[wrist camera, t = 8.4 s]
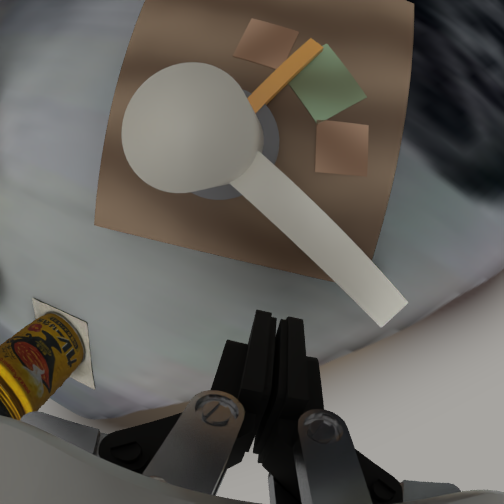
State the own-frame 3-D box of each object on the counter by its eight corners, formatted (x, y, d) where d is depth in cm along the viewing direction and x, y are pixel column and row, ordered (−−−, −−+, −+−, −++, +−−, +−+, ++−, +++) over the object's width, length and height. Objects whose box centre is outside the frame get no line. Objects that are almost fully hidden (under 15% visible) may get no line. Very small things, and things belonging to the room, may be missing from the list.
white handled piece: (147, 151, 16) (79, 146, 10) (273, 17, 13) (265, -49, 7) (343, 329, 18) (364, 399, 11) (463, 205, 15) (532, 224, 8)
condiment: (87, 321, 22) (-2, 401, 11) (95, 388, 25) (34, 466, 13) (33, 296, 23) (-52, 352, 11) (45, 362, 25) (-19, 423, 13)
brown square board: (166, -23, 14) (159, -33, 12) (407, 12, 13) (414, 3, 11) (105, 221, 19) (93, 225, 18) (357, 280, 19) (362, 289, 17)
